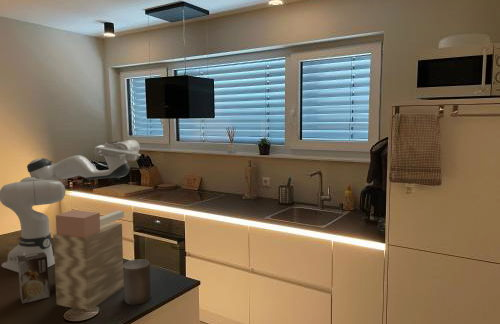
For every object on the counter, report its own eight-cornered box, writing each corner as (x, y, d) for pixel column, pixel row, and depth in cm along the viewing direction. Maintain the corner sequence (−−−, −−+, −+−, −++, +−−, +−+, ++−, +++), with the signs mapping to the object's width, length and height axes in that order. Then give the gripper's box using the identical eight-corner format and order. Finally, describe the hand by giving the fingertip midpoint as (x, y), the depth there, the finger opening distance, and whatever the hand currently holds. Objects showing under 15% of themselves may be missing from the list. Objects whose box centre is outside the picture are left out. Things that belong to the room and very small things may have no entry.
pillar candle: (156, 296, 143) (155, 258, 141) (138, 307, 134) (137, 266, 133) (136, 291, 147) (135, 254, 146) (118, 301, 138) (116, 262, 137)
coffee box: (47, 291, 146) (45, 251, 144) (50, 297, 141) (47, 256, 139) (19, 297, 141) (17, 256, 139) (21, 304, 136) (19, 261, 134)
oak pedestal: (56, 304, 135) (53, 234, 133) (94, 282, 154) (92, 220, 152) (88, 310, 131) (86, 238, 129) (123, 286, 150) (121, 223, 148)
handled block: (56, 234, 133) (55, 215, 132) (108, 215, 160) (108, 199, 159) (84, 238, 129) (83, 218, 129) (133, 217, 156) (132, 201, 156)
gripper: (141, 160, 187) (130, 166, 174) (102, 154, 188) (87, 159, 175) (142, 148, 186) (131, 152, 172) (102, 141, 187) (88, 145, 174)
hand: (109, 156), depth 174 cm, fingers open, 8 cm apart
